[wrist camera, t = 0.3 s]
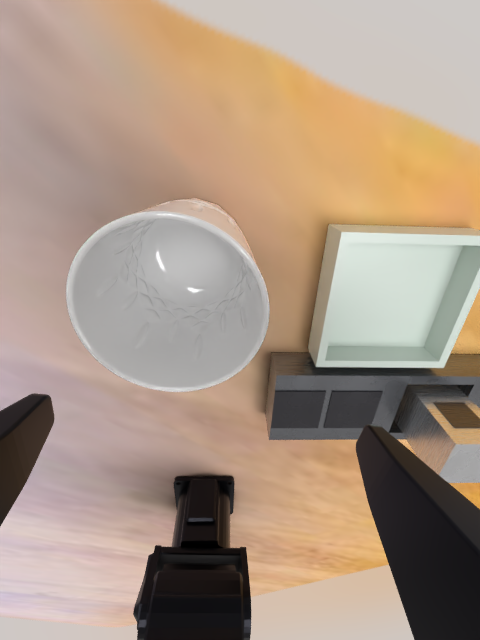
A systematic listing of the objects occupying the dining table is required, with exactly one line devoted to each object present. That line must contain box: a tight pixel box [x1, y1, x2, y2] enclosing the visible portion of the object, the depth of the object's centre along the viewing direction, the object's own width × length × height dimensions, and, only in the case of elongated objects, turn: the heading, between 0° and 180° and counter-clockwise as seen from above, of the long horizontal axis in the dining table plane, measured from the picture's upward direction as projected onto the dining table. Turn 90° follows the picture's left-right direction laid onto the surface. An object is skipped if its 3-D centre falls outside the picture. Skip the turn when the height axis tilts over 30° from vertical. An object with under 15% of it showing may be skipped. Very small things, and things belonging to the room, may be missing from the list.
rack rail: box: [265, 353, 480, 440], centre depth 25 cm, size 7×20×3 cm, turn 88°
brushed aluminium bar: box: [394, 384, 480, 483], centre depth 23 cm, size 4×4×8 cm
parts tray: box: [308, 224, 480, 368], centre depth 21 cm, size 10×10×3 cm
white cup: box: [66, 198, 270, 392], centre depth 16 cm, size 8×8×10 cm
